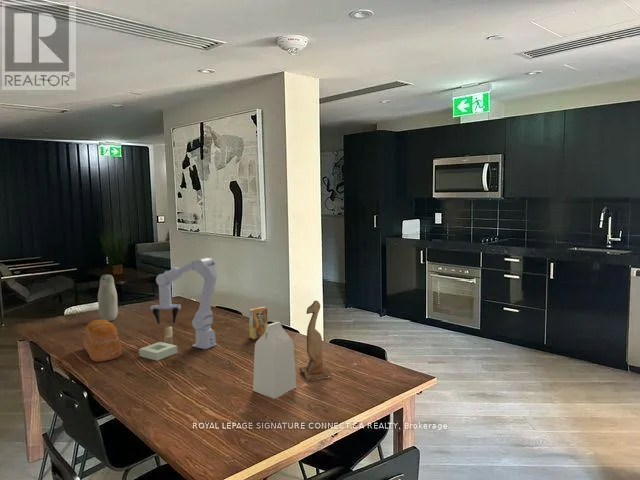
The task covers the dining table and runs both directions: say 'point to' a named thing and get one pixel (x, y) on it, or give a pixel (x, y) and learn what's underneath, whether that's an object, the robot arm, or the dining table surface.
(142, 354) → the socket block
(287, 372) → the milk
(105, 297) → the grey bottle
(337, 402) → the dining table surface
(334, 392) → the dining table surface
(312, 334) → the bird sculpture
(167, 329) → the peg
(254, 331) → the candy box
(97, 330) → the bread
